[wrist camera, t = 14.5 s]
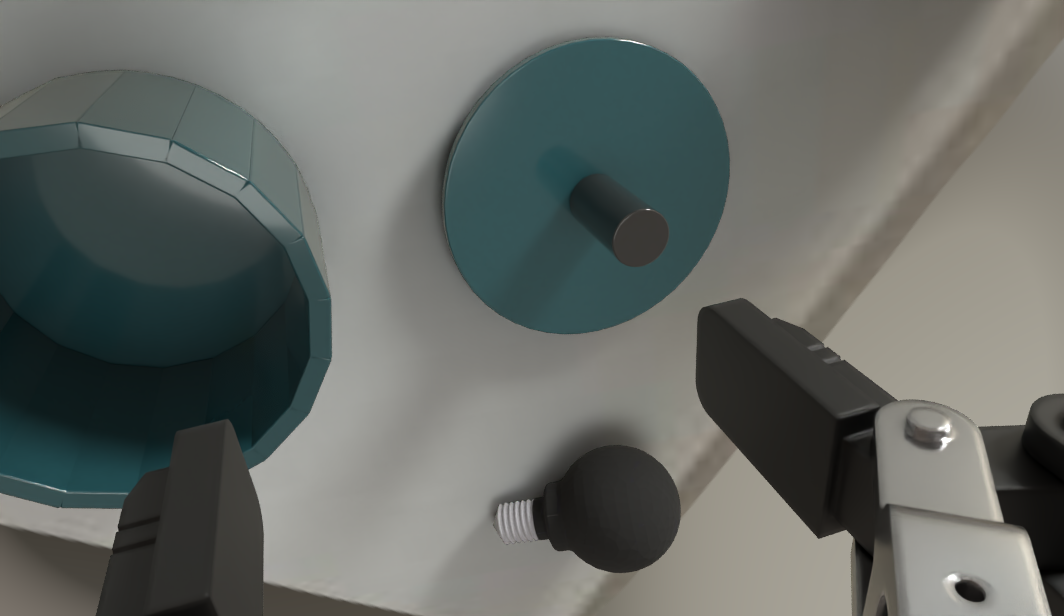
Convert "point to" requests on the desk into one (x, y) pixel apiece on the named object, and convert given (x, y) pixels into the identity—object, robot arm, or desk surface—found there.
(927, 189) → the desk surface
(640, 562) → the light bulb
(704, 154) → the pot lid
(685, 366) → the desk surface
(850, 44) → the desk surface
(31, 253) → the pot
